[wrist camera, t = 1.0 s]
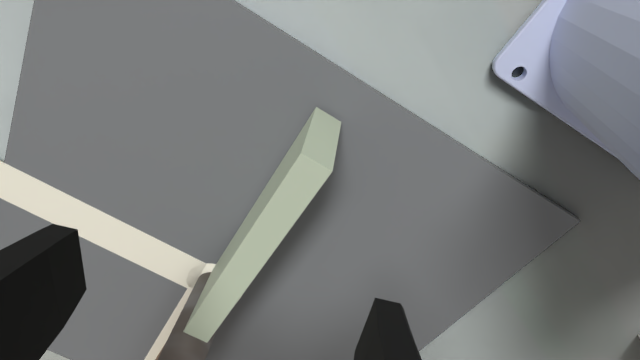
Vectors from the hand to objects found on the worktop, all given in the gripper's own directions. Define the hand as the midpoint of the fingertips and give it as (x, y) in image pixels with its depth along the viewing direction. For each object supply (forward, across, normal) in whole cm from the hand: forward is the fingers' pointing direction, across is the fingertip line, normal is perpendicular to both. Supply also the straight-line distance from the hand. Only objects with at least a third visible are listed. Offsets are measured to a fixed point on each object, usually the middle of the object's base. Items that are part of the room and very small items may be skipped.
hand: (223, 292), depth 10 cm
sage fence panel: (+9, 0, +4) cm, 10 cm away
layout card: (+10, +2, +10) cm, 14 cm away
